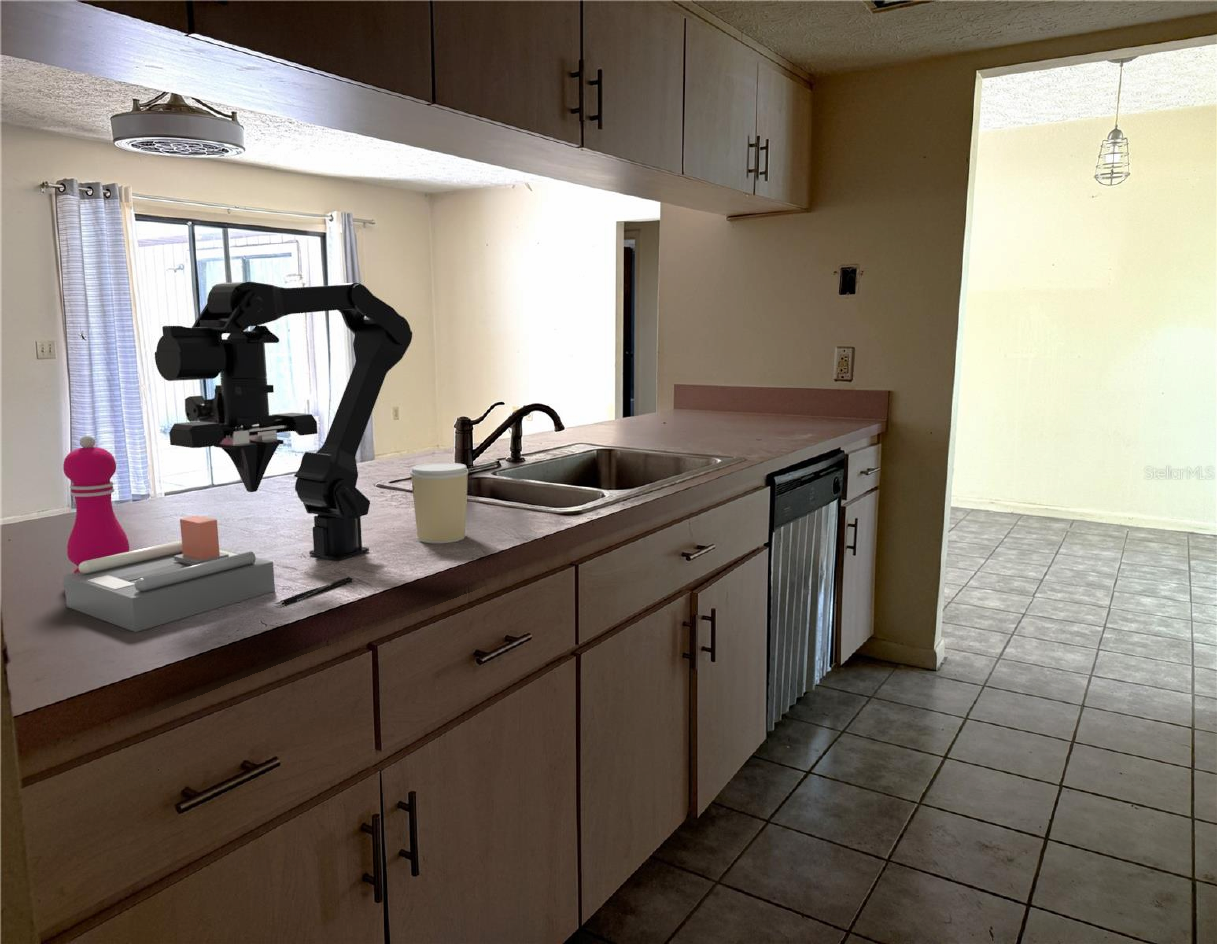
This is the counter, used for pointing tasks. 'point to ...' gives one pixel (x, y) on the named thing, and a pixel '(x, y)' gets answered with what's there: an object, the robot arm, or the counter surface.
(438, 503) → the coffee cup
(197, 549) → the lever
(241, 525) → the counter surface
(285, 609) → the counter surface
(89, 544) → the pepper mill
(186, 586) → the box
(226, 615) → the counter surface
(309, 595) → the black thin rod
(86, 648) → the counter surface
